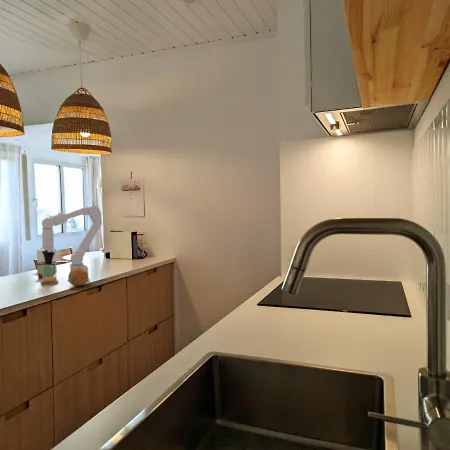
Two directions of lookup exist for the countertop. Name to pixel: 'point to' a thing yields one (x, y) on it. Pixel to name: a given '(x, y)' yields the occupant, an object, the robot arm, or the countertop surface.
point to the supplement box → (41, 257)
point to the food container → (43, 264)
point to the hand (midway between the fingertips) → (48, 264)
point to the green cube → (47, 271)
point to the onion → (78, 276)
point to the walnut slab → (49, 282)
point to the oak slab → (49, 278)
